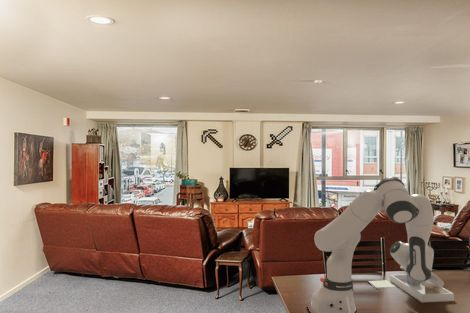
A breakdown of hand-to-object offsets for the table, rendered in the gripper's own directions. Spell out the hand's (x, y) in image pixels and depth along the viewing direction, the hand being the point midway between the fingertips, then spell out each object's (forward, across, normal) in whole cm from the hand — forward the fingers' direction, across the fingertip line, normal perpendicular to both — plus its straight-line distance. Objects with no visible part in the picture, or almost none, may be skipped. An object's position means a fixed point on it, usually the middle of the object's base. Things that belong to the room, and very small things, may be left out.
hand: (433, 285), depth 161 cm
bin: (+3, +8, +5) cm, 10 cm away
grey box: (+5, +16, +2) cm, 17 cm away
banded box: (+3, 0, +4) cm, 5 cm away
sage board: (-6, +21, +14) cm, 26 cm away
